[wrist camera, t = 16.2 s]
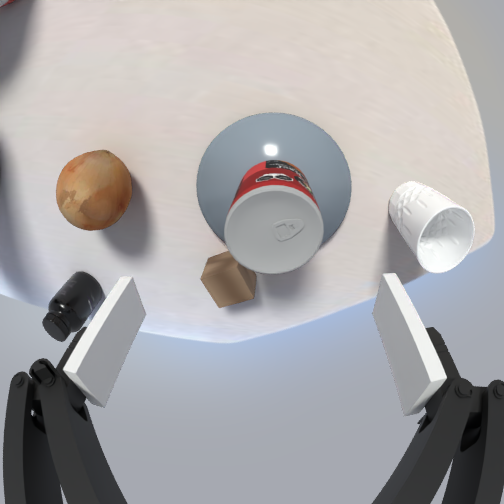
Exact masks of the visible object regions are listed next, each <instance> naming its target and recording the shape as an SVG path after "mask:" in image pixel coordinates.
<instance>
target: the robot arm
mask: <svg viewBox="0 0 504 504" xmlns="http://www.w3.org/2000/svg"><path fill="white" fill-rule="evenodd" d="M372 314H373V317H374V320H375V323H376V325H377V328H378V331H379V334H380V337H381V340H382V343H383V346H384V348H385V351H386V355H387V358H388V361H389V364H390V367H391V371H392V374H393V377H394V381H395V384H396V387H397V391H398V395H399V398H400V401H401V406H402V410H403V413H404V416H408V415H413V414H417V413H419V412H420V411H421V410H422V409H423V408H424V407H425V409H426V412H427V413H426V414H425V415H424V416H423V417H422V418H421V419H420V420H419V422H418V424H420V423H421V424H420V426H419V428H418V430H417V432H416V434H415V436H414V438H413V439H412V442H411V443H410V445H409V447H408V449H407V451H406V452H405V454H404V456H403V457H402V459H401V461H400V463H399V464H398V466H397V468H396V469H395V471H394V472H393V474H392V475H391V477H390V479H389V480H388V482H387V483H386V485H385V486H384V487H383V489H382V490H381V492H380V493H379V495H378V496H377V497H376V499H375V500H374V501H373V503H372V504H430V503H431V501H432V500H433V498H434V496H435V494H436V492H437V491H438V489H439V487H440V485H441V483H442V481H443V479H444V477H445V475H446V473H447V471H448V468H449V466H450V464H451V462H452V459H453V463H452V467H451V472H450V476H449V479H448V484H447V487H446V491H445V494H444V498H443V501H442V504H500V501H501V496H502V492H503V486H504V382H503V381H501V380H494V381H492V382H491V383H490V384H489V385H488V387H476V386H473V385H472V384H471V383H470V382H469V381H468V380H466V379H463V378H461V377H460V375H459V373H458V370H457V368H456V366H455V364H454V362H453V359H452V357H451V355H450V353H449V352H448V349H447V346H446V345H445V342H444V340H443V338H442V337H441V334H440V333H439V332H438V331H437V330H436V329H435V328H434V327H430V328H425V327H424V325H423V323H422V321H421V319H420V317H419V315H418V313H417V311H416V309H415V307H414V306H413V304H412V302H411V300H410V298H409V296H408V294H407V293H406V291H405V289H404V287H403V285H402V284H401V282H400V280H399V278H398V277H397V275H396V273H388V274H382V278H381V282H380V286H379V290H378V294H377V298H376V302H375V305H374V309H373V312H372ZM145 316H146V312H145V310H144V307H143V305H142V302H141V299H140V296H139V294H138V291H137V288H136V285H135V282H134V280H133V277H120V279H119V280H118V282H117V283H116V285H115V286H114V288H113V289H112V290H111V292H110V293H109V295H108V296H107V298H106V299H105V301H104V302H103V304H102V305H101V307H100V308H99V310H98V312H97V313H96V315H95V316H94V318H93V319H92V321H91V322H90V324H89V326H88V327H83V328H82V329H81V330H80V331H79V332H77V334H76V335H75V337H74V339H73V340H72V342H71V343H70V345H69V348H67V350H66V352H65V353H64V355H63V357H62V359H61V360H60V362H59V364H58V366H57V367H56V369H55V368H54V366H53V365H52V364H51V362H50V361H48V360H47V359H44V358H42V359H39V360H37V361H35V362H34V363H33V365H32V366H31V368H30V371H29V374H30V376H31V377H32V378H30V377H29V376H28V374H27V373H25V372H19V373H17V374H16V375H14V377H13V378H12V381H11V384H10V390H9V396H8V402H7V410H6V418H5V429H4V443H3V478H4V479H3V480H4V494H5V504H63V500H62V494H61V487H62V490H63V492H64V495H65V498H66V500H67V503H68V504H127V502H126V500H125V498H124V496H123V494H122V492H121V490H120V488H119V486H118V485H117V482H116V481H115V478H114V476H113V474H112V472H111V470H110V467H109V465H108V463H107V460H106V458H105V456H104V453H103V451H102V448H101V446H100V443H99V441H98V438H97V435H96V433H95V430H94V427H93V424H92V421H91V418H90V415H89V412H88V408H87V406H86V404H85V403H84V402H85V400H86V398H87V399H88V400H89V401H90V402H91V403H92V404H94V405H97V406H101V407H104V408H105V406H106V403H107V401H108V398H109V396H110V393H111V391H112V388H113V386H114V383H115V381H116V379H117V377H118V374H119V372H120V370H121V367H122V365H123V363H124V361H125V358H126V356H127V354H128V352H129V350H130V347H131V345H132V343H133V341H134V339H135V337H136V335H137V332H138V330H139V328H140V326H141V324H142V322H143V320H144V318H145ZM31 410H33V411H34V414H33V416H32V415H31ZM60 484H61V487H60Z"/></svg>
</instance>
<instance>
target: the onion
mask: <svg viewBox="0 0 504 504" xmlns="http://www.w3.org/2000/svg"><path fill="white" fill-rule="evenodd" d="M131 196H132V185H131V177H130V174H129V171H128V169H127V167H126V166H125V164H124V163H123V162H122V161H121V160H120V159H119V158H118V157H116V156H115V155H114V154H112V153H111V152H109V151H107V150H97V151H92V152H87V153H84V154H82V155H80V156H77V157H76V158H74V159H73V160H71V161H70V162H68V164H67V165H66V166H65V167H64V168H63V170H62V172H61V173H60V175H59V178H58V181H57V187H56V199H57V204H58V207H59V210H60V211H61V213H62V214H63V216H64V217H65V218H66V220H67V221H68V222H70V223H71V224H72V225H74V226H76V227H78V228H80V229H84V230H89V231H92V230H101V229H104V228H107V227H109V226H111V225H113V224H114V223H116V222H117V221H118V220H119V219H120V218H121V216H122V215H123V214H124V212H125V210H126V209H127V207H128V205H129V202H130V199H131Z"/></svg>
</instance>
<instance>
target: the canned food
mask: <svg viewBox="0 0 504 504" xmlns="http://www.w3.org/2000/svg"><path fill="white" fill-rule="evenodd" d="M323 233H324V230H323V219H322V216H321V212H320V210H319V207H318V204H317V202H316V199H315V197H314V195H313V192H312V190H311V188H310V185H309V183H308V181H307V179H306V177H305V175H304V174H303V173H302V172H301V170H300V169H299V168H297V167H296V166H294V165H293V164H291V163H288V162H285V161H281V160H269V161H264V162H261V163H258V164H257V165H255V166H253V167H252V168H251V169H249V170H248V171H247V172H246V174H245V175H244V176H243V178H242V180H241V182H240V184H239V187H238V189H237V191H236V194H235V196H234V199H233V201H232V204H231V206H230V209H229V211H228V215H227V218H226V222H225V228H224V237H225V242H226V245H227V248H228V250H229V252H230V253H231V255H232V256H233V257H234V259H235V260H236V261H238V262H239V263H240V264H241V265H243V266H244V267H246V268H248V269H250V270H252V271H255V272H258V273H263V274H283V273H287V272H290V271H293V270H295V269H298V268H300V267H301V266H303V265H304V264H306V263H307V262H308V261H309V260H310V259H311V258H312V257H313V256H314V255H315V254H316V252H317V251H318V249H319V247H320V245H321V242H322V239H323Z"/></svg>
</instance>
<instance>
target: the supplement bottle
mask: <svg viewBox="0 0 504 504" xmlns="http://www.w3.org/2000/svg"><path fill="white" fill-rule="evenodd" d="M101 296H102V291H101V288H100V285H99V284H98V282H97V281H96V280H95V278H93V277H92V276H91V275H90V274H88V273H85V272H76V273H75V274H73V275H72V277H71V278H70V279H69V280H68V281H67V282H66V283H65V284H64V285H63V286H62V288H61V289H60V290H59V291H58V292H57V293H56V295H55V296H54V297H53V298H52V299H51V301H50V303H49V312H48V313H47V315H46V316H45V318H44V319H43V322H42V323H43V326H44V328H45V330H46V331H47V333H49V335H50V336H51V337H53V338H54V339H56V340H57V341H61V342H63V341H65V340H66V338H67V337H68V336H69V335H70V333H71V332H76V331H78V330H80V328H81V327H82V326H83V324H84V323H85V321H86V320H87V318H88V317H89V315H90V314H91V312H92V311H93V309H94V308H95V307H96V305H97V304H98V302H99V301H100V299H101Z"/></svg>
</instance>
